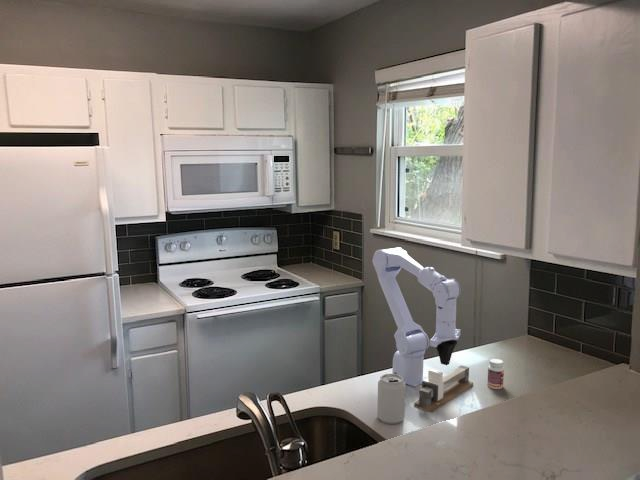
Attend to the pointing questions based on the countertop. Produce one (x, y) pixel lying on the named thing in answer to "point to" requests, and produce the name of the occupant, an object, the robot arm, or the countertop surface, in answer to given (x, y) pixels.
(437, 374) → the sleeve
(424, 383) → the grey square plate
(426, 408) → the pipe board
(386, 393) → the can
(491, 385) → the pill bottle
